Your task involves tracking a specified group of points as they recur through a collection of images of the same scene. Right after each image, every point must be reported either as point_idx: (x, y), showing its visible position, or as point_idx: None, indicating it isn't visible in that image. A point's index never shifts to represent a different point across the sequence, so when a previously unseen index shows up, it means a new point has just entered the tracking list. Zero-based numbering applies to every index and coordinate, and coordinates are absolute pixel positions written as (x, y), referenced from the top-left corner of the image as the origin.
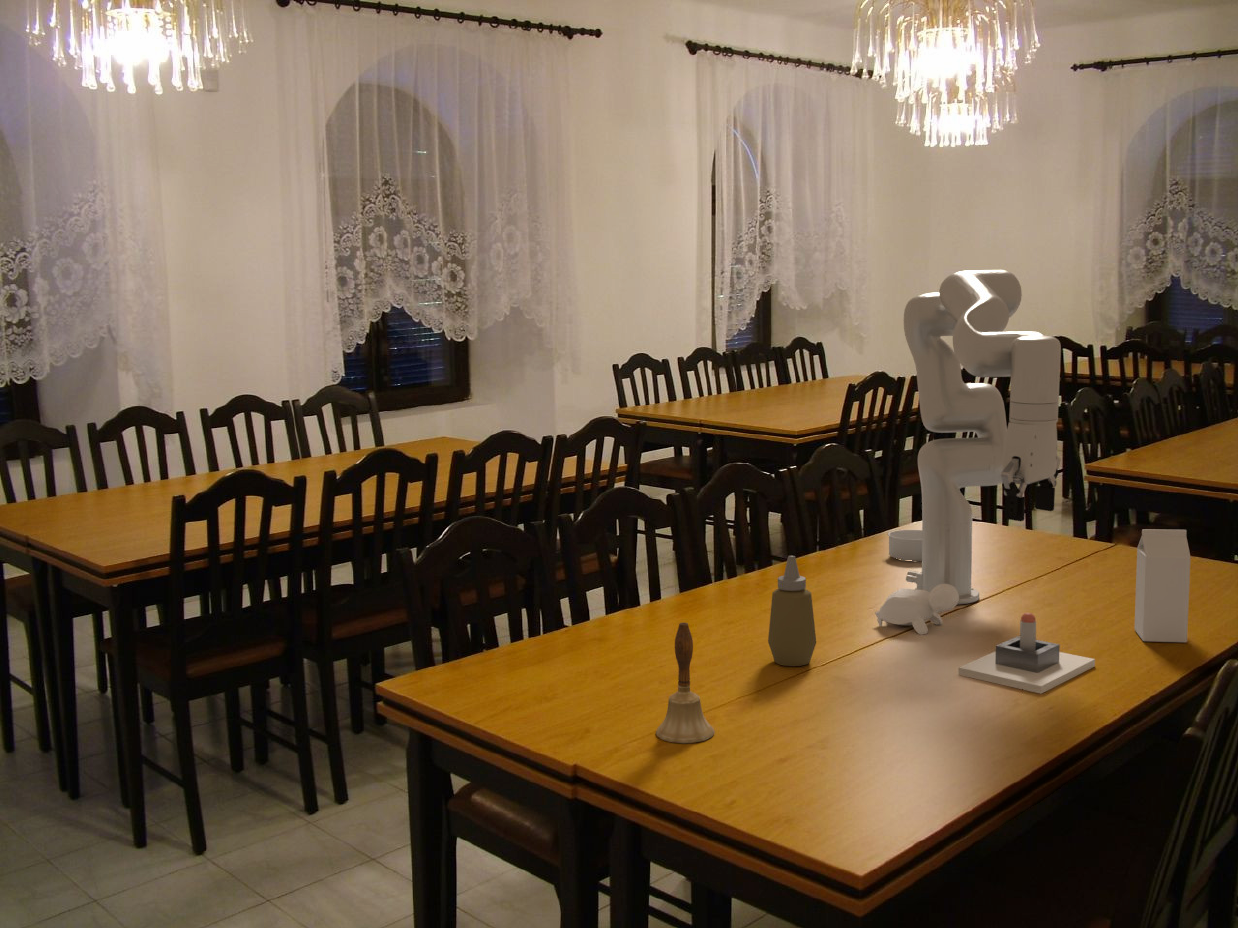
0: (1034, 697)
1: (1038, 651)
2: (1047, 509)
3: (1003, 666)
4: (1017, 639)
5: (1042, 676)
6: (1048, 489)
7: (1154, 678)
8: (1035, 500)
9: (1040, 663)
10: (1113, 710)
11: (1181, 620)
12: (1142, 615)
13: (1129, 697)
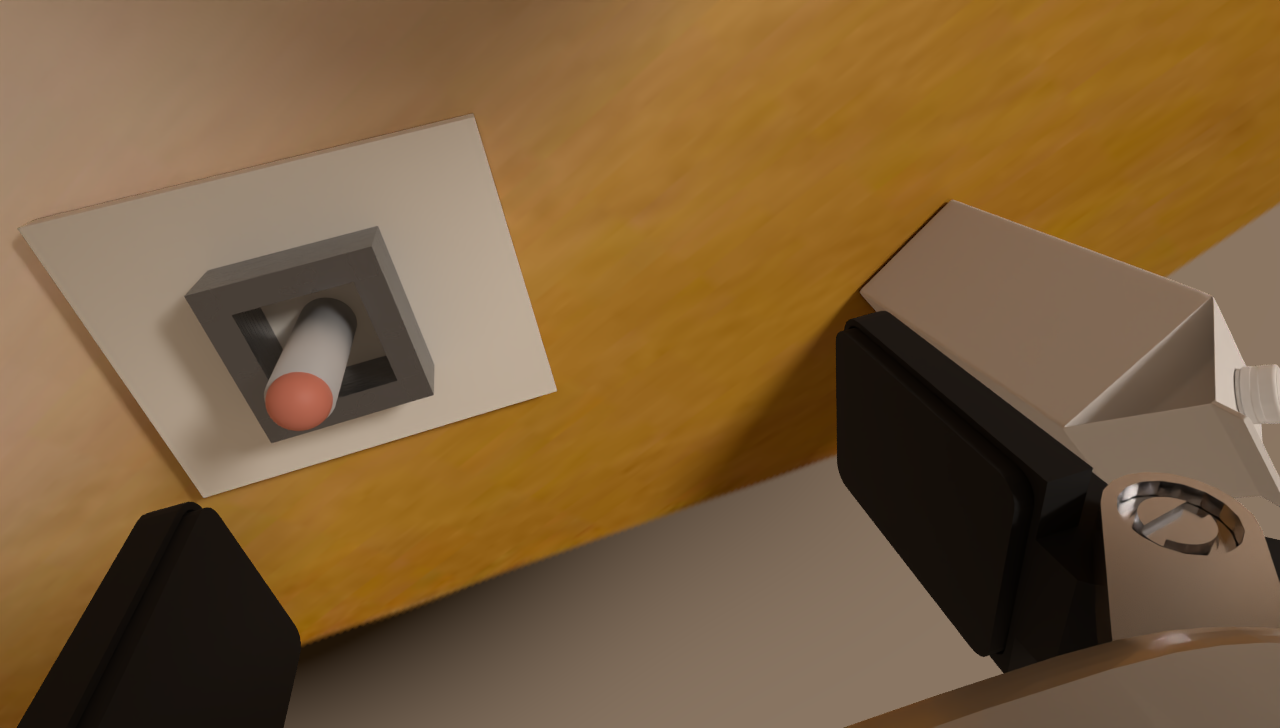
0: (168, 495)
1: None
2: (841, 449)
3: None
4: (335, 278)
5: None
6: (984, 618)
7: (596, 507)
8: (888, 372)
9: None
10: (309, 624)
11: None
12: (914, 307)
13: (421, 577)
